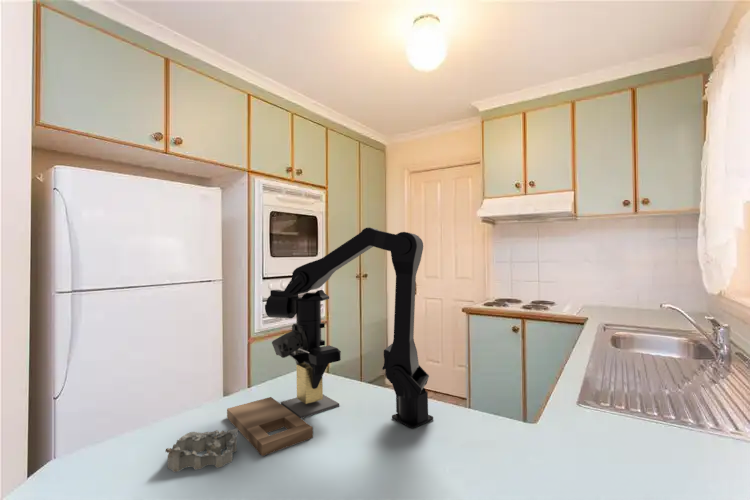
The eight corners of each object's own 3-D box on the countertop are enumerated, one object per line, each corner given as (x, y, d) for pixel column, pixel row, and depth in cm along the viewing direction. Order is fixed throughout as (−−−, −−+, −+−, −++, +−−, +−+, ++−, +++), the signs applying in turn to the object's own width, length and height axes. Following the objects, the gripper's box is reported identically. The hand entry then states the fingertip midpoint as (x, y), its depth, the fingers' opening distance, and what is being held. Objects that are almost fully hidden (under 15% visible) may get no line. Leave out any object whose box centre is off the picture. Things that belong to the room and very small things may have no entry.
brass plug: (322, 399, 85) (322, 364, 85) (305, 404, 82) (305, 368, 82) (313, 393, 88) (312, 360, 88) (296, 398, 85) (296, 364, 85)
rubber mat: (339, 406, 84) (339, 403, 84) (300, 418, 78) (300, 415, 78) (317, 393, 92) (317, 391, 92) (280, 404, 86) (280, 401, 86)
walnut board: (312, 437, 70) (312, 427, 70) (262, 456, 63) (262, 444, 63) (271, 405, 85) (270, 396, 85) (227, 417, 79) (227, 408, 79)
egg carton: (161, 475, 59) (161, 450, 59) (181, 450, 66) (180, 428, 66) (229, 469, 60) (228, 445, 60) (241, 446, 67) (240, 424, 68)
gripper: (260, 318, 88) (261, 383, 87) (295, 329, 73) (296, 407, 73) (302, 313, 94) (302, 373, 94) (341, 322, 80) (342, 393, 80)
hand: (309, 385), depth 85 cm, fingers closed on brass plug, 4 cm apart
